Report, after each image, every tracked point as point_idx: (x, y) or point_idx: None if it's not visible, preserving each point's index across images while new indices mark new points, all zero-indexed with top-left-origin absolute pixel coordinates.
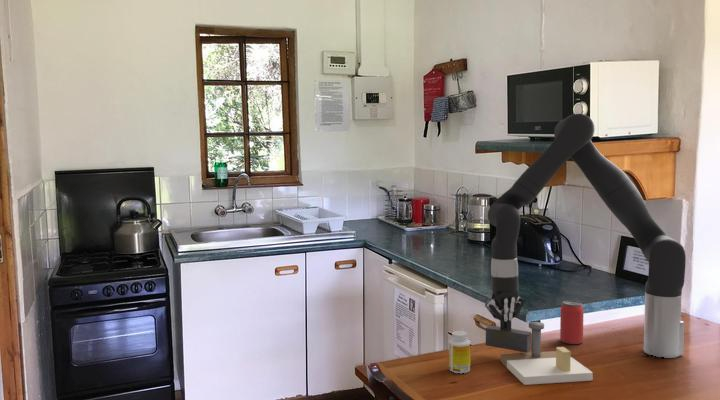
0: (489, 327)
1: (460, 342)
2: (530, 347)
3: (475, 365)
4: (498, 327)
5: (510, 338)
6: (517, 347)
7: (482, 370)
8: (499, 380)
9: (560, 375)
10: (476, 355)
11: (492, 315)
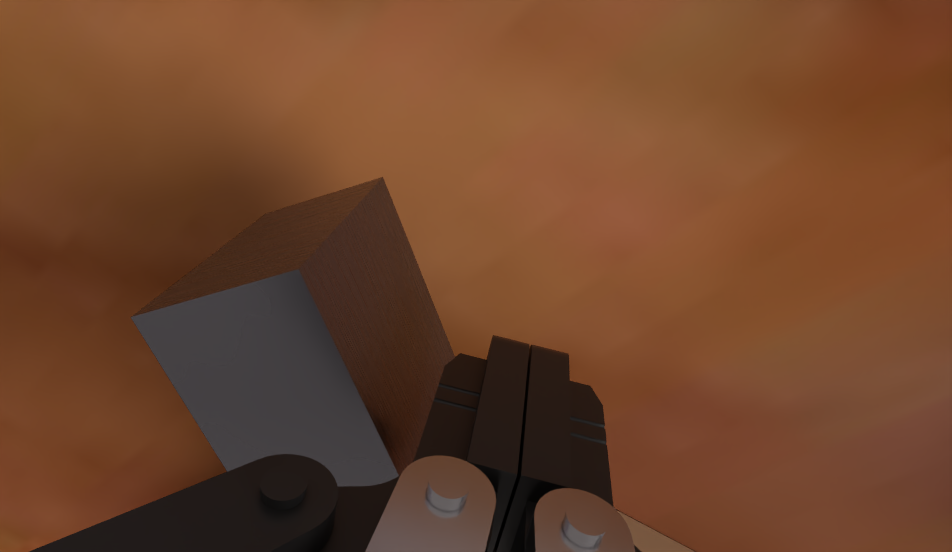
0: (208, 338)
1: None
2: None
3: (78, 280)
4: (335, 432)
5: None
6: None
7: (72, 376)
8: (79, 528)
9: None
10: (237, 112)
11: (167, 500)
